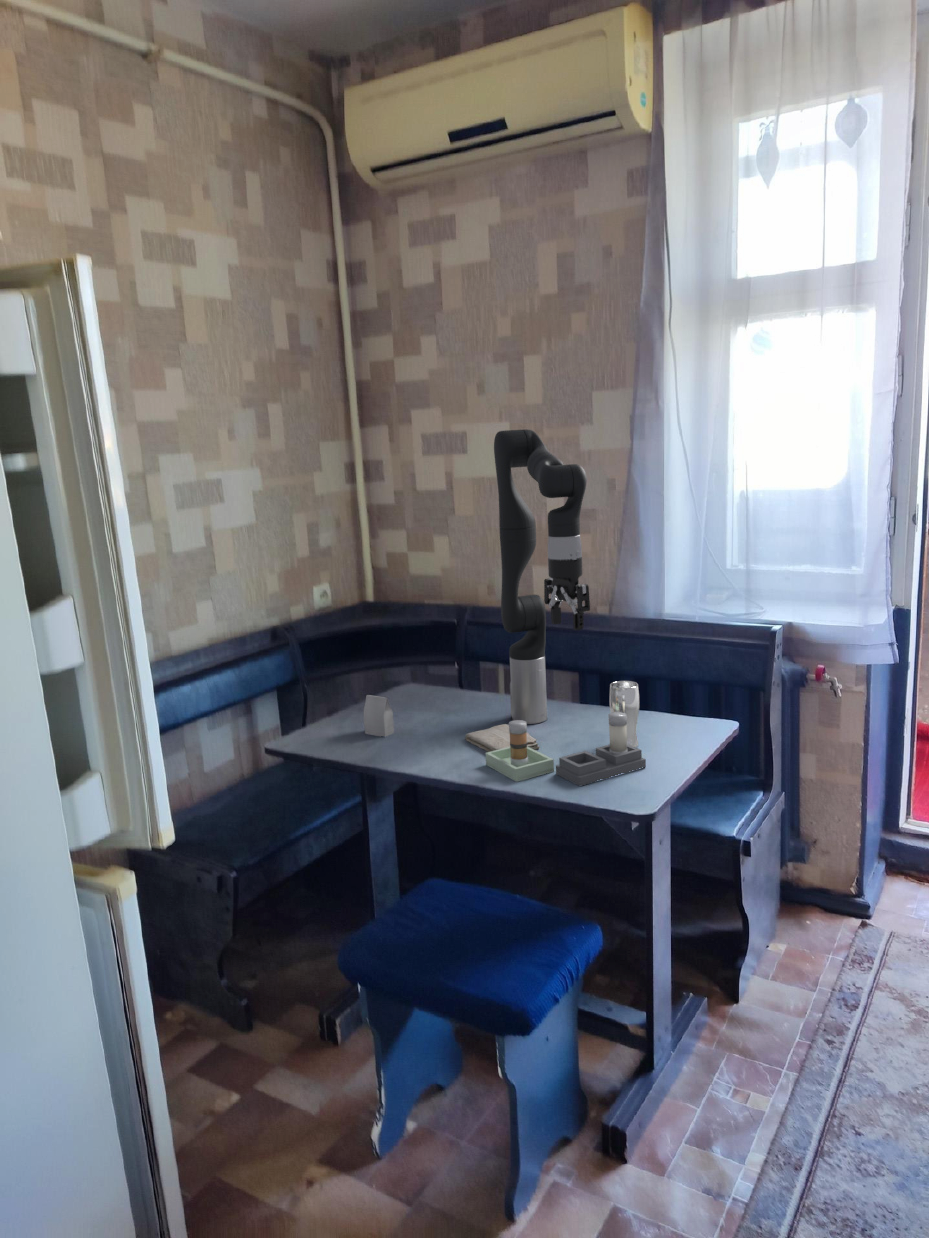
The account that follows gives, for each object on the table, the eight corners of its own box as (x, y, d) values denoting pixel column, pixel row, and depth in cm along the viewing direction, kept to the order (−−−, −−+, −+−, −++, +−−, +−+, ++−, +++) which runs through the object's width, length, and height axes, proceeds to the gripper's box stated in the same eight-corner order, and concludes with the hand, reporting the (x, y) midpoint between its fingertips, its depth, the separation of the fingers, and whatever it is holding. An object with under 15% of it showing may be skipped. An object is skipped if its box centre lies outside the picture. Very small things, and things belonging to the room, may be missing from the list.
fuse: (605, 756, 204) (604, 714, 202) (619, 753, 206) (619, 711, 204) (617, 761, 201) (616, 718, 199) (631, 757, 203) (630, 715, 201)
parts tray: (486, 764, 209) (485, 752, 209) (522, 755, 214) (522, 743, 213) (516, 781, 198) (515, 769, 197) (554, 771, 203) (553, 759, 202)
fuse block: (556, 773, 201) (555, 756, 200) (620, 756, 210) (619, 739, 209) (580, 786, 193) (579, 768, 193) (645, 767, 202) (645, 750, 201)
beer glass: (618, 751, 213) (616, 690, 210) (605, 742, 220) (604, 682, 217) (645, 747, 215) (644, 686, 212) (632, 738, 221) (631, 679, 218)
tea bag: (385, 737, 233) (382, 699, 231) (365, 733, 237) (362, 696, 235) (394, 732, 236) (391, 696, 234) (374, 729, 240) (371, 693, 238)
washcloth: (501, 761, 212) (501, 749, 211) (463, 742, 227) (462, 730, 227) (543, 750, 218) (542, 738, 217) (502, 732, 233) (502, 720, 232)
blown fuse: (507, 764, 207) (505, 722, 205) (522, 760, 208) (520, 718, 206) (516, 769, 203) (514, 726, 201) (531, 765, 205) (529, 723, 203)
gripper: (533, 554, 206) (536, 624, 209) (569, 560, 194) (572, 634, 197) (560, 551, 209) (562, 619, 213) (598, 556, 197) (600, 629, 200)
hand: (567, 626), depth 205 cm, fingers open, 8 cm apart
